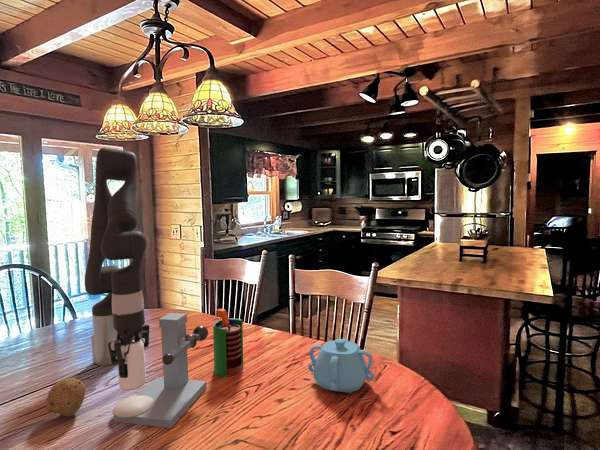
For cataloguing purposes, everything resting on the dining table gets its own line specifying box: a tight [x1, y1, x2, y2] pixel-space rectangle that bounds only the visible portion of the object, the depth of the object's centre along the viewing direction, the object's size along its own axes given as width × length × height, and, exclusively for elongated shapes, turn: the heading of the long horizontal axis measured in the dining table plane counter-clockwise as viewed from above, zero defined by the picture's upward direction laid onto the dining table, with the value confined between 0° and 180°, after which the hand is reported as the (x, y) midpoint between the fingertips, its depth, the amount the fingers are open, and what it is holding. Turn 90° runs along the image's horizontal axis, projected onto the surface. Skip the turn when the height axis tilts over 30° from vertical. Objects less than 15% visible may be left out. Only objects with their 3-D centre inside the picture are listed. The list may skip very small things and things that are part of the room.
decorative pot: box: [308, 338, 375, 394], centre depth 115 cm, size 16×16×14 cm
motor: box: [212, 308, 244, 378], centre depth 126 cm, size 10×9×20 cm
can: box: [117, 338, 147, 391], centre depth 101 cm, size 6×6×12 cm
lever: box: [161, 325, 209, 365], centre depth 107 cm, size 4×22×4 cm, turn 168°
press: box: [112, 312, 207, 429], centre depth 106 cm, size 18×21×22 cm
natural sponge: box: [44, 377, 86, 418], centre depth 102 cm, size 9×9×10 cm
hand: (132, 371), depth 101 cm, fingers closed on can, 5 cm apart
